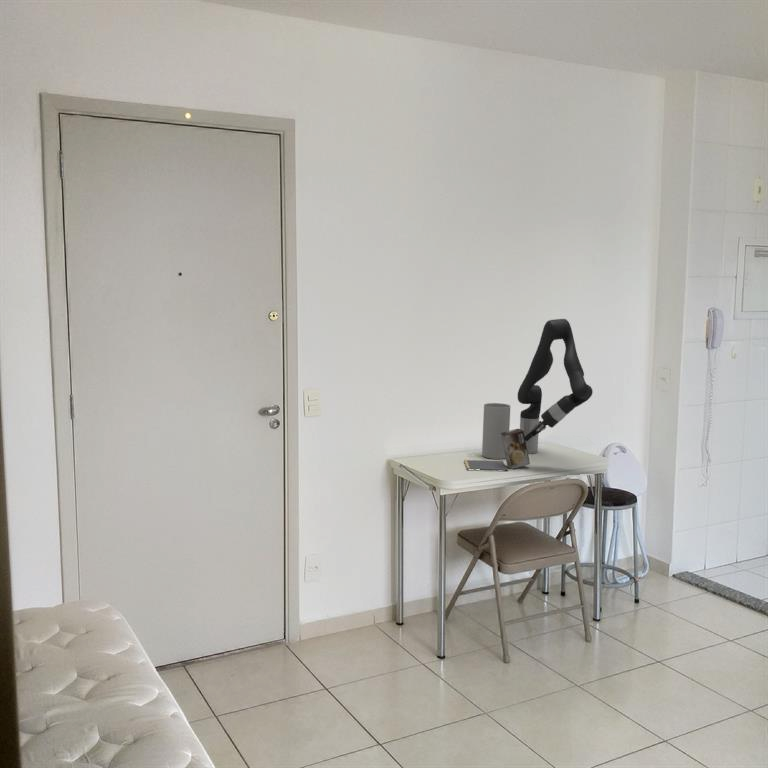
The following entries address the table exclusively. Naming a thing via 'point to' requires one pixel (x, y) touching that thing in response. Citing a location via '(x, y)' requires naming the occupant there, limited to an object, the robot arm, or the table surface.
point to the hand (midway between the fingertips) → (525, 439)
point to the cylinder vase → (495, 429)
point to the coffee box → (515, 448)
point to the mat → (485, 465)
